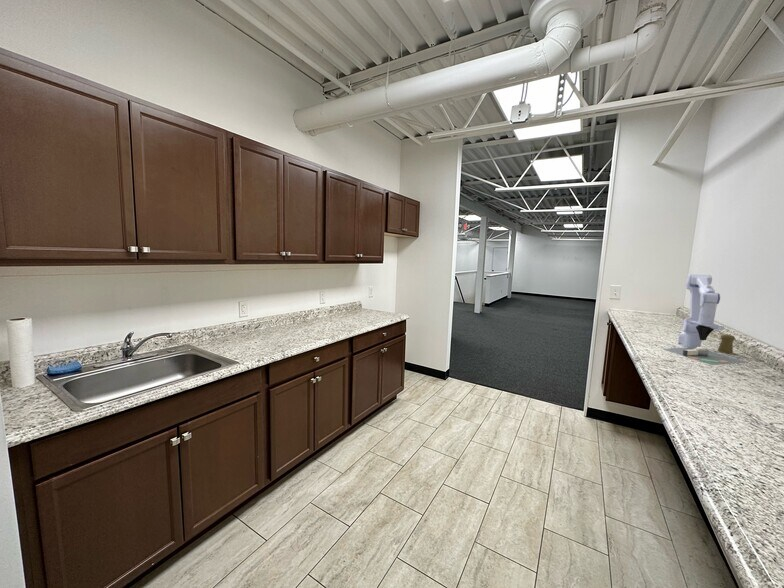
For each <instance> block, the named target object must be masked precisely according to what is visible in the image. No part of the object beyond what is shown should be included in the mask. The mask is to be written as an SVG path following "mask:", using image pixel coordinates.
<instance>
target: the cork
mask: <svg viewBox="0 0 784 588" xmlns="http://www.w3.org/2000/svg"><path fill="white" fill-rule="evenodd" d="M735 338H736V337H735V336H734V335H732V334H726V333H725V334H724V333H723V334H721V336H720V339H721V341H720V343H719V346H718V348H717V352H719V353H724V354H734V352H733V351H734V348H733V347H734V345H733V343H734V341H735Z"/></svg>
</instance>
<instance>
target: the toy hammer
mask: <svg viewBox="0 0 784 588" xmlns="http://www.w3.org/2000/svg"><path fill="white" fill-rule="evenodd" d="M708 351H709V350H707V348H706V347H702V346H701V347H697V348H694V349H693V350H683V355H701V356H708Z"/></svg>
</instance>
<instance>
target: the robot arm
mask: <svg viewBox="0 0 784 588" xmlns="http://www.w3.org/2000/svg"><path fill="white" fill-rule="evenodd" d="M712 282H713V277H712V275H711V274H691V273H689V274H687V276H686V282H685V283H686V284H685V288H686V289H687V290H689V292H690V300H689V301H690V302H689V305H690V306H689V308H690V309H689V317H686V318H685V319H684V320H683V322H682V329H681V330H682V332H680V334H679V335H678V339H677V345H679V346H682V347H684V348H697V347H702V341H706V340H707V338H708V337H709V335H710V334H711V333H712V332H713V331H714V330H717V331H720V332H721V331H724V326H721V325H719V324H715V323H714V321H715V317H716V313H717V312H716V311H717V307H718V305H719V303H720V302H721V301H720V300H721V294H720V293H719V292H716V290H715V289H714V287H713V285H711V284H712Z"/></svg>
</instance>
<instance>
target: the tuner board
mask: <svg viewBox="0 0 784 588" xmlns="http://www.w3.org/2000/svg"><path fill="white" fill-rule="evenodd" d="M693 349H694V348H689V347H673V348H672V347H671V348H662V350H664V351H666V352H670V353H673V354H676V355H679V356H683V357H686V358H689V359H693V360H694V361H697V362H698V361H699V362H702V363H704V364H708V365H710V366H714V365H731V364H733V365H734V364H745V363H746V364H747V363H749V362H748V361H744V360H741V359H738V358H734V357H730V356H726V355H723V354H720V353H716V352H713V351H709V350H708V356H701V355H683V350H693Z"/></svg>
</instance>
